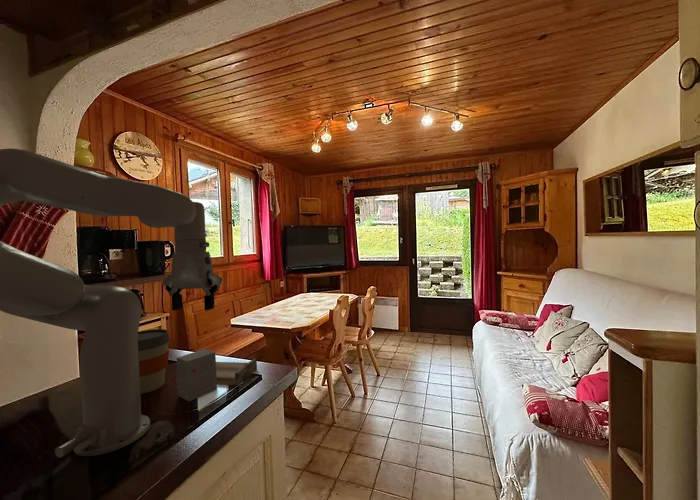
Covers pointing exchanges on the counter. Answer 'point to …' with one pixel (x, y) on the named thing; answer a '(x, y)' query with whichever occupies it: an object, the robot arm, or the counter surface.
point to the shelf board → (234, 372)
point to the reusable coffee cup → (152, 358)
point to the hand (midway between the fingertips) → (193, 309)
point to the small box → (196, 374)
